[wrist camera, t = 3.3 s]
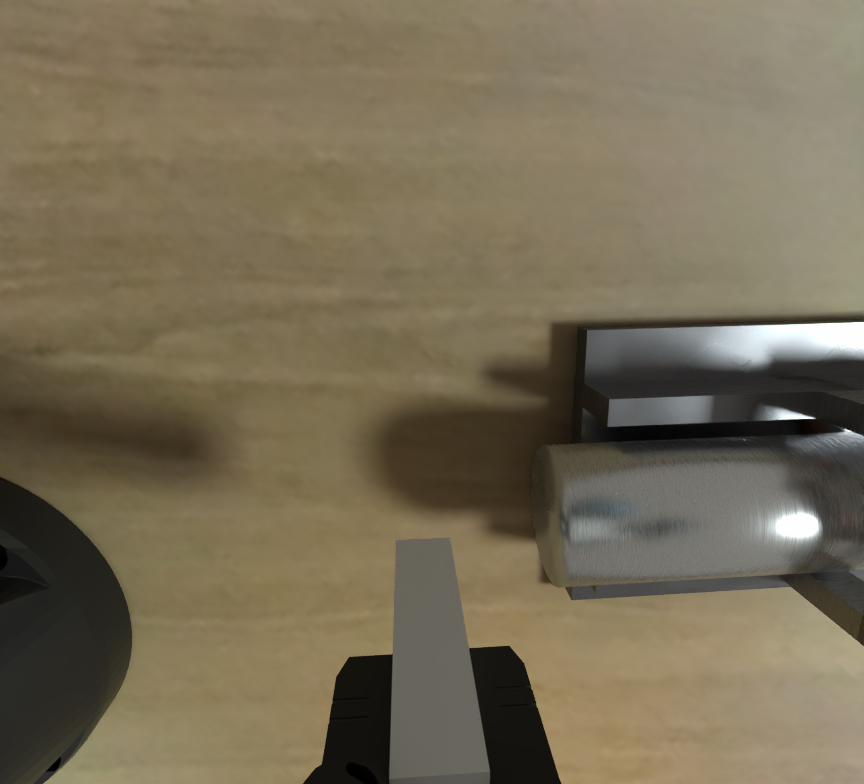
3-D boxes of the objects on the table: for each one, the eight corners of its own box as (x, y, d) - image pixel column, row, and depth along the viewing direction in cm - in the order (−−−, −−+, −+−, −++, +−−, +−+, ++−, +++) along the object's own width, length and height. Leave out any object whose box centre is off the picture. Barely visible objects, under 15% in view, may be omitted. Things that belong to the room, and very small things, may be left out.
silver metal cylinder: (527, 527, 21) (564, 621, 16) (535, 421, 19) (579, 493, 15) (836, 512, 22) (956, 597, 17) (873, 408, 20) (1017, 472, 15)
